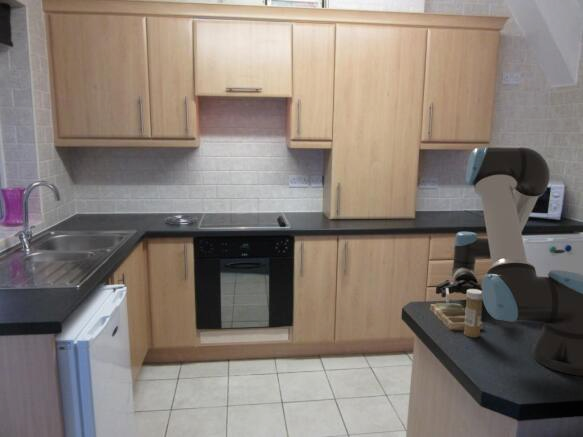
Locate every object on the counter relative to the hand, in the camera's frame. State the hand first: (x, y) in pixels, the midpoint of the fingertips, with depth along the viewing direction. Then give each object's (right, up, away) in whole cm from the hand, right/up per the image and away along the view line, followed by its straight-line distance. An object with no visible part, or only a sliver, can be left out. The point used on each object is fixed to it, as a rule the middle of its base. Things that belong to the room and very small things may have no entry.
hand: (470, 300), depth 135 cm
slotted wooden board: (-3, -7, +6) cm, 10 cm away
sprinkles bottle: (-2, -9, -6) cm, 11 cm away
